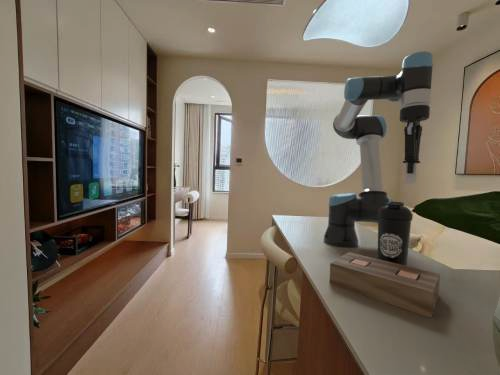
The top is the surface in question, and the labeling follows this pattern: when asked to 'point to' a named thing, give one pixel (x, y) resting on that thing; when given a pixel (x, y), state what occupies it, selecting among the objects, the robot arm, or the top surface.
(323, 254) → the top surface
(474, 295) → the top surface
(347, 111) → the robot arm
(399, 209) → the water bottle
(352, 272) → the socket block
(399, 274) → the peg
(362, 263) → the peg
